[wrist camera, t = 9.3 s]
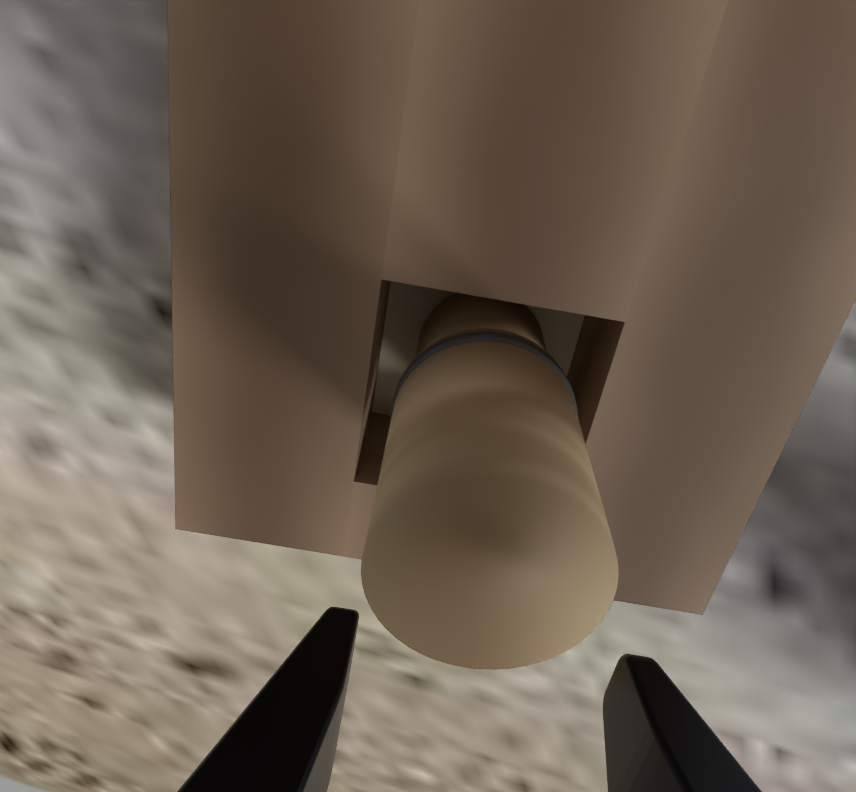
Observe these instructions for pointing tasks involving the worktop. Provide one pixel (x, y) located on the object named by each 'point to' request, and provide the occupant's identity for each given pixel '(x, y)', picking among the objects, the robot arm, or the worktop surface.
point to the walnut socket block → (507, 245)
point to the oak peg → (487, 498)
